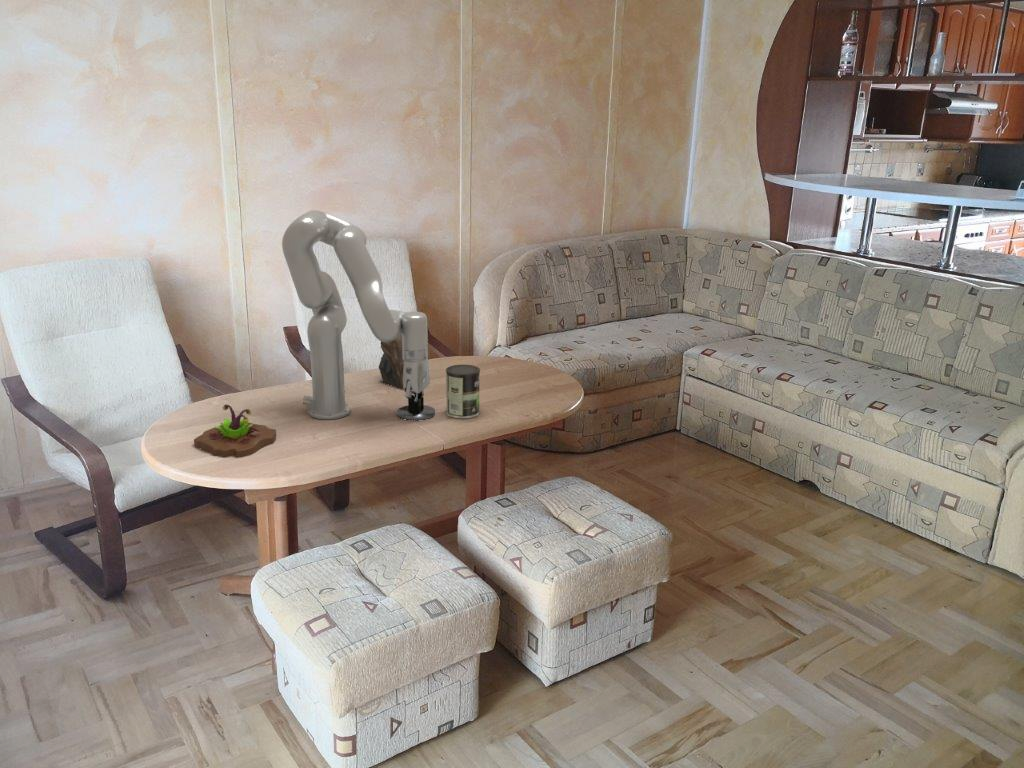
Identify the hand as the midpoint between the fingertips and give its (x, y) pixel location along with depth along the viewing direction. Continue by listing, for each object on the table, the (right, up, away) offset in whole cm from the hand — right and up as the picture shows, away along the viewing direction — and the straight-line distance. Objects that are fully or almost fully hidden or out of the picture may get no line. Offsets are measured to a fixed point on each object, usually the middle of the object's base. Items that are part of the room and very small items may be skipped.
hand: (416, 410), depth 258 cm
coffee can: (+14, -1, +2) cm, 14 cm away
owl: (-8, +8, +28) cm, 30 cm away
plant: (-47, -8, -23) cm, 53 cm away
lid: (0, -1, 0) cm, 1 cm away
